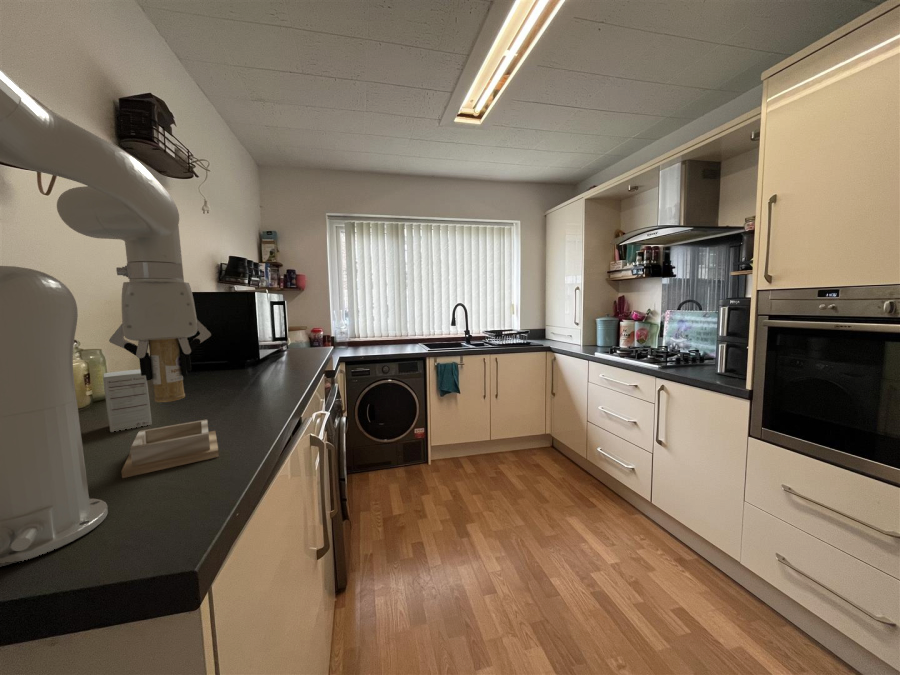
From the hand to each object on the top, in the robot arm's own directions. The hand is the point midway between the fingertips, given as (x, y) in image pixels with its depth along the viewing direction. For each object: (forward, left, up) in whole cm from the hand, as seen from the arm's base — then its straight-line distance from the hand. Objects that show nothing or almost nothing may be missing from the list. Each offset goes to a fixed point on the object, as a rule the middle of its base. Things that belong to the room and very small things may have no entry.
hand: (167, 376), depth 65 cm
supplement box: (+29, +10, -15) cm, 34 cm away
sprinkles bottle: (0, 0, -5) cm, 5 cm away
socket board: (0, 0, -15) cm, 15 cm away
